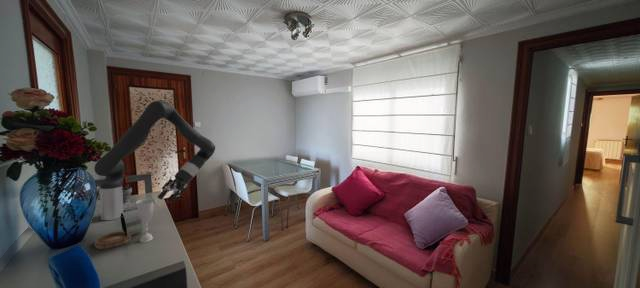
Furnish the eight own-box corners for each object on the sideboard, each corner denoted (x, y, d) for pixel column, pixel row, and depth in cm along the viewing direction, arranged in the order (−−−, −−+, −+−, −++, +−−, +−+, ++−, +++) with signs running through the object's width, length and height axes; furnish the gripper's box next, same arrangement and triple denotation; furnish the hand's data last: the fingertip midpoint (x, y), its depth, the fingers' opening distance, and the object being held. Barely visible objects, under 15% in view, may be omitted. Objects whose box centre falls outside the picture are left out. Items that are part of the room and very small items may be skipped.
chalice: (133, 240, 106) (132, 201, 105) (149, 234, 112) (148, 197, 111) (142, 244, 103) (141, 204, 102) (159, 238, 109) (158, 200, 108)
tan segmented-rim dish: (90, 243, 103) (90, 238, 102) (124, 233, 113) (124, 228, 113) (101, 251, 96) (100, 246, 96) (135, 240, 107) (135, 235, 107)
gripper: (174, 166, 123) (150, 193, 114) (190, 170, 116) (165, 199, 107) (184, 175, 128) (162, 201, 119) (200, 179, 121) (177, 207, 112)
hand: (163, 200), depth 113 cm, fingers open, 8 cm apart
